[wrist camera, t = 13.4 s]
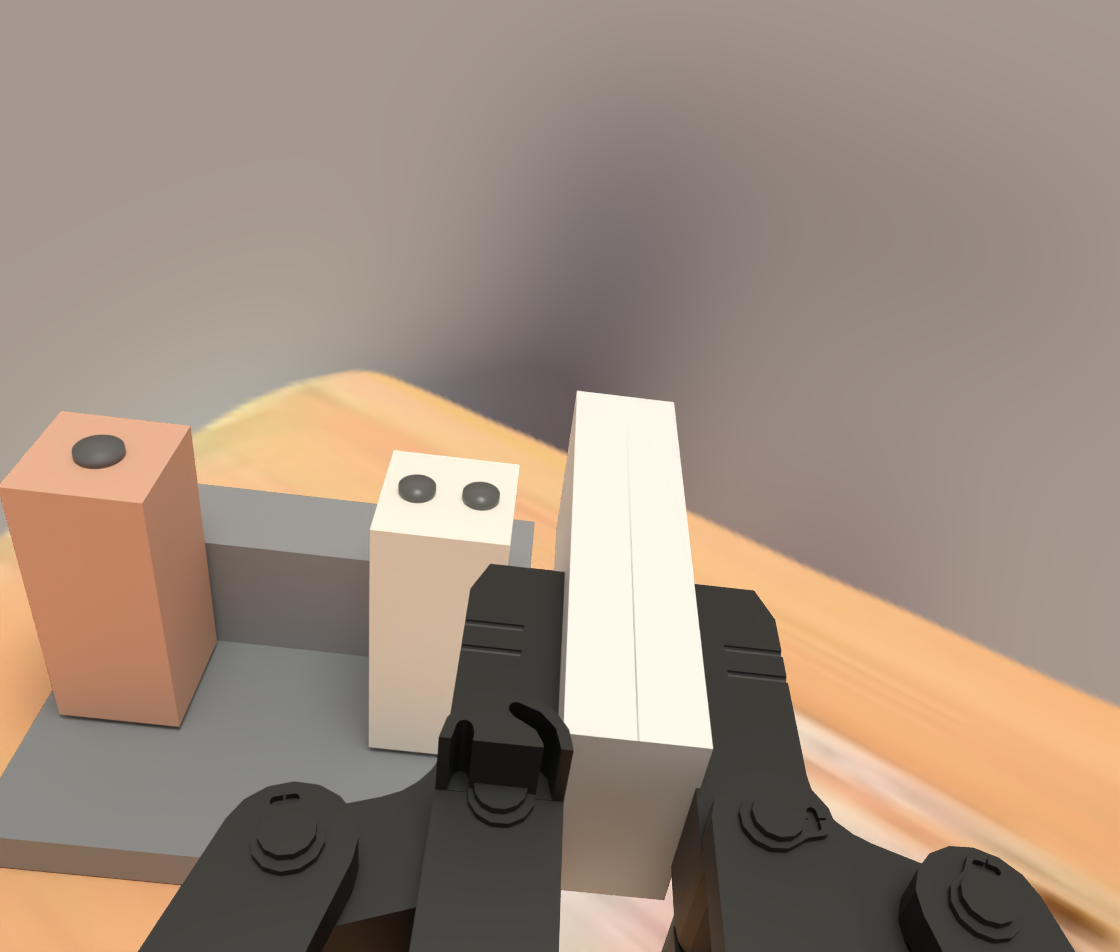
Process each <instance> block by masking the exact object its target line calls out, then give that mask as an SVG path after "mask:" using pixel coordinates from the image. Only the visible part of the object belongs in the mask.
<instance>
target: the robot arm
mask: <svg viewBox="0 0 1120 952" xmlns="http://www.w3.org/2000/svg"><path fill="white" fill-rule="evenodd" d="M671 877H672V890H673V906H674V917H673V920H672V922H671V925H670V928H669V931H668V934H667V937H666V940H665V943H664V946H663V949H662V952H1075V951H1074V949H1073V947H1072V946H1071V944H1070V943H1069V941H1068V939H1067V938H1066V936H1065V935H1064V933H1063V931H1062V930H1061V928H1060V927H1059V925H1058V923H1057V922H1056V920H1055V919H1054V917H1053V915H1052V914H1051V912H1050V911H1049V909H1048V907H1047V906H1046V904H1045V903H1044V901H1043V899H1042V898H1041V897H1040V895H1039V894H1038V893H1037V892H1036V891H1035V889H1034V888H1033V887H1032V886H1031V885H1030V883H1029V882H1028V881H1027V880H1026V879H1025V877H1024V876H1023V875H1022V874H1020V873H1019V872H1018V871H1016V870H1015V869H1014V868H1012V867H1011V866H1009V865H1008V864H1007V863H1005V862H1004V861H1003V860H1001V859H1000V858H998V857H996V856H993V855H991V854H988V853H985V852H983V851H980V850H978V849H975V848H970V847H955V846H948V847H946V848H943V849H940V850H937V851H935V852H932V853H930V854H929V855H928V856H927V858H926V859H925V860H924V862H923V863H922V864H921V863H919V862H916V861H914V860H911V859H909V858H906V857H904V856H901V855H899V854H896V853H894V852H891V851H889V850H886V849H884V848H881V847H879V846H876V845H874V844H871V843H869V842H867V841H865V840H863V839H861V838H859V837H857V836H855V835H853V834H852V833H850V832H849V831H848V830H846V829H845V828H844V827H842V826H841V825H840V824H838V823H837V822H836V821H835V820H834V819H833V818H832V815H831V813H830V811H829V808H828V807H827V806H826V805H825V804H824V803H823V802H822V801H821V799H820V798H819V797H818V796H817V795H816V794H815V793H814V792H813V791H812V790H811V787H810V784H809V781H808V778H807V775H806V770H805V765H804V760H803V755H802V750H801V745H800V741H799V736H798V731H797V726H796V721H795V716H794V711H793V706H792V701H791V696H790V691H789V686H788V683H786V672H785V667H784V662H783V657H781V647H780V642H779V637H778V632H777V627H776V622H775V619H774V618H773V616H772V615H771V614H770V612H769V611H768V609H767V608H766V607H765V605H764V604H763V602H762V601H761V600H760V598H759V597H758V595H757V594H756V593H755V591H753V590H744V589H735V588H726V587H717V586H708V585H699V584H694V576H693V567H692V559H691V550H690V541H689V532H688V523H687V514H686V506H685V497H684V488H683V480H682V470H681V462H680V453H679V444H678V435H677V427H676V417H675V409H674V402H666V401H657V400H649V399H640V398H632V397H623V396H616V395H607V394H599V393H590V392H582V391H577V396H576V401H575V408H574V415H573V422H572V429H571V435H570V442H569V449H568V455H567V462H566V469H565V475H564V482H563V489H562V496H561V502H560V509H559V516H558V523H557V531H556V547H555V564H554V571H552V570H543V569H534V568H525V567H516V566H507V565H498V564H490V565H489V566H488V567H487V568H486V570H485V571H484V572H483V573H482V575H481V576H480V577H479V578H478V580H477V581H476V582H475V583H474V585H473V586H472V587H471V588H470V594H469V600H468V606H467V612H466V618H465V625H464V631H463V637H462V643H461V650H460V656H459V662H458V668H457V675H456V681H455V687H454V693H453V700H452V706H451V712H450V715H449V716H448V717H447V718H446V721H445V723H444V725H443V728H442V730H441V732H440V735H439V739H438V754H437V762H436V764H435V765H434V767H433V768H432V769H431V770H430V771H429V772H428V773H427V774H426V775H425V776H424V777H423V778H421V779H420V780H419V781H418V782H416V783H414V784H412V785H411V786H409V787H407V788H405V789H403V790H402V791H398V792H395V793H392V794H388V795H385V796H382V797H377V798H371V799H366V800H361V801H356V802H351V803H345V801H344V800H343V799H342V797H341V796H339V795H338V794H336V793H334V792H332V791H330V790H329V789H327V788H325V787H323V786H321V785H318V784H311V783H303V782H296V781H293V782H288V783H283V784H277V785H272V786H267V787H266V788H264V789H262V790H260V791H258V792H256V793H254V794H253V795H251V796H249V797H247V798H245V799H243V801H242V802H241V803H240V804H239V805H238V806H237V807H236V808H235V809H234V810H233V811H232V812H231V813H230V814H229V815H228V816H227V817H226V818H225V820H224V821H223V823H222V825H221V826H220V828H219V829H218V831H217V832H216V834H215V835H214V837H213V838H212V840H211V841H210V843H209V844H208V846H207V847H206V849H205V850H204V852H203V853H202V855H201V856H200V858H199V860H198V861H197V863H196V864H195V866H194V867H193V869H192V870H191V872H190V873H189V875H188V876H187V878H186V879H185V881H184V882H183V884H182V885H181V887H180V888H179V890H178V891H177V893H176V895H175V896H174V898H173V899H172V901H171V902H170V904H169V905H168V907H167V908H166V910H165V911H164V913H163V914H162V916H161V917H160V919H159V920H158V922H157V923H156V925H155V926H154V928H153V930H152V931H151V933H150V934H149V936H148V937H147V939H146V940H145V942H144V943H143V945H142V946H141V948H140V949H139V951H138V952H559V928H560V898H561V890H566V891H576V892H587V893H597V894H607V895H617V896H627V897H637V898H648V899H658V900H664V899H665V896H666V892H667V889H668V886H669V883H670V880H671Z"/></svg>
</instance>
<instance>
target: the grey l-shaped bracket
mask: <svg viewBox="0 0 1120 952" xmlns="http://www.w3.org/2000/svg"><path fill="white" fill-rule="evenodd" d="M198 491H199V500H200V508H201V516H202V524H203V532H204V540H205V548H206V556H207V564H208V573H209V581H210V589H211V597H212V605H213V613H214V621H215V629H216V637H217V643H216V645H215V647H214V649H213V652H212V654H211V656H210V658H209V661H208V663H207V665H206V668H205V670H204V672H203V674H202V677H201V679H200V681H199V683H198V686H197V688H196V690H195V693H194V695H193V697H192V699H191V702H190V704H189V706H188V708H187V711H186V713H185V715H184V718H183V720H182V722H181V724H180V727H177V726H167V725H158V724H148V723H138V722H129V721H119V720H109V719H100V718H90V717H80V716H71V715H61V714H59V710H58V707H57V703H56V699H55V696H54V692H53V690H52V692H51V694H50V695H49V697H48V699H47V700H46V702H45V704H44V705H43V707H42V709H41V710H40V712H39V714H38V715H37V717H36V719H35V721H34V722H33V724H32V726H31V727H30V729H29V731H28V732H27V734H26V736H25V737H24V739H23V741H22V742H21V744H20V746H19V747H18V749H17V751H16V752H15V754H14V756H13V757H12V759H11V761H10V763H9V764H8V766H7V768H6V769H5V771H4V773H3V774H2V776H1V778H0V867H4V868H14V869H24V870H35V871H45V872H55V873H66V874H76V875H86V876H97V877H107V878H117V879H127V880H138V881H148V882H158V883H169V884H179V885H182V884H183V882H184V881H185V879H186V878H187V876H188V875H189V873H190V872H191V870H192V869H193V867H194V866H195V864H196V863H197V861H198V860H199V858H200V856H201V855H202V853H203V852H204V850H205V849H206V847H207V846H208V844H209V843H210V841H211V840H212V838H213V837H214V835H215V834H216V832H217V831H218V829H219V828H220V826H221V825H222V823H223V821H224V820H225V818H226V817H227V816H228V815H229V814H230V813H231V812H232V811H233V810H234V809H235V808H236V807H237V806H238V805H239V804H240V803H241V802H242V801H243V799H245V798H247V797H249V796H251V795H253V794H254V793H256V792H258V791H260V790H262V789H264V788H266V787H267V786H272V785H277V784H283V783H288V782H293V781H296V782H303V783H311V784H318V785H321V786H323V787H325V788H327V789H329V790H330V791H332V792H334V793H336V794H338V795H339V796H341V797H342V799H343V800H344V801H345V803H351V802H356V801H361V800H366V799H371V798H377V797H382V796H385V795H388V794H392V793H395V792H398V791H402V790H403V789H405V788H407V787H409V786H411V785H412V784H414V783H416V782H418V781H419V780H420V779H421V778H423V777H424V776H425V775H426V774H427V773H428V772H429V771H430V770H431V769H432V768H433V767H434V765H435V764H436V762H437V754H430V753H421V752H411V751H401V750H392V749H382V748H372V747H369V579H370V527H371V524H372V521H373V517H374V514H375V511H376V508H377V504H372V503H363V502H354V501H346V500H337V499H328V498H319V497H310V496H302V495H293V494H284V493H275V492H266V491H258V490H249V489H240V488H231V487H223V486H214V485H205V484H198ZM533 533H534V522H530V521H521V520H513V526H512V535H511V544H510V553H509V561H508V566H516V567H525V568H530V567H531V556H532V544H533Z"/></svg>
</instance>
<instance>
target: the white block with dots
mask: <svg viewBox="0 0 1120 952" xmlns="http://www.w3.org/2000/svg"><path fill="white" fill-rule="evenodd" d="M519 466H520V465H516V464H508V463H499V462H491V461H482V460H473V459H465V458H456V457H448V456H439V455H430V454H422V453H413V452H404V451H396V450H394V452H393V455H392V458H391V462H390V465H389V468H388V471H387V475H386V478H385V481H384V485H383V488H382V491H381V494H380V498H379V501H378V504H377V508H376V511H375V514H374V517H373V521H372V524H371V527H370V579H369V747H372V748H382V749H392V750H401V751H411V752H421V753H430V754H438V739H439V735H440V732H441V730H442V728H443V725H444V723H445V721H446V718H447V717H448V716H449V715H450V712H451V706H452V700H453V693H454V687H455V681H456V675H457V668H458V662H459V656H460V650H461V643H462V637H463V631H464V625H465V618H466V612H467V606H468V600H469V594H470V588H471V587H472V586H473V585H474V583H475V582H476V581H477V580H478V578H479V577H480V576H481V575H482V573H483V572H484V571H485V570H486V568H487V567H488V566H489V565H490V564H498V565H507V566H508V561H509V553H510V544H511V535H512V526H513V518H514V509H515V500H516V492H517V483H518V474H519Z"/></svg>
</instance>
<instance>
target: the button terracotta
mask: <svg viewBox="0 0 1120 952" xmlns="http://www.w3.org/2000/svg"><path fill="white" fill-rule="evenodd" d="M0 498H1V501H2V505H3V509H4V513H5V516H6V520H7V524H8V527H9V531H10V535H11V538H12V542H13V546H14V549H15V553H16V557H17V560H18V564H19V568H20V571H21V575H22V579H23V582H24V586H25V590H26V593H27V597H28V601H29V604H30V608H31V611H32V615H33V619H34V622H35V626H36V630H37V633H38V637H39V641H40V644H41V648H42V652H43V655H44V659H45V663H46V666H47V670H48V674H49V677H50V681H51V685H52V688H53V692H54V696H55V699H56V703H57V707H58V710H59V714H61V715H71V716H80V717H90V718H100V719H109V720H119V721H129V722H138V723H148V724H158V725H167V726H177V727H180V724H181V722H182V720H183V718H184V715H185V713H186V711H187V708H188V706H189V704H190V702H191V699H192V697H193V695H194V693H195V690H196V688H197V686H198V683H199V681H200V679H201V677H202V674H203V672H204V670H205V668H206V665H207V663H208V661H209V658H210V656H211V654H212V652H213V649H214V647H215V645H216V643H217V637H216V629H215V621H214V613H213V605H212V597H211V589H210V581H209V573H208V564H207V556H206V548H205V540H204V532H203V524H202V516H201V508H200V500H199V491H198V483H197V475H196V467H195V459H194V451H193V443H192V435H191V427H190V426H185V425H176V424H168V423H160V422H151V421H142V420H134V419H125V418H117V417H108V416H99V415H91V414H82V413H74V412H65V411H61V412H60V413H59V415H58V416H57V417H56V418H55V419H54V421H53V422H52V423H51V424H50V425H49V427H48V428H47V429H46V430H45V431H44V432H43V434H42V435H41V436H40V437H39V438H38V440H37V441H36V442H35V443H34V444H33V446H32V447H31V448H30V449H29V450H28V451H27V453H26V454H25V455H24V456H23V457H22V459H21V460H20V461H19V462H18V463H17V465H16V466H15V467H14V468H13V469H12V470H11V472H10V473H9V474H8V475H7V476H6V478H5V479H4V480H3V481H2V482H1V484H0Z"/></svg>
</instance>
